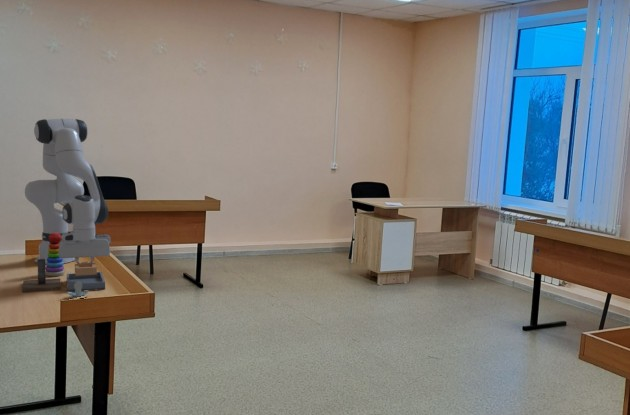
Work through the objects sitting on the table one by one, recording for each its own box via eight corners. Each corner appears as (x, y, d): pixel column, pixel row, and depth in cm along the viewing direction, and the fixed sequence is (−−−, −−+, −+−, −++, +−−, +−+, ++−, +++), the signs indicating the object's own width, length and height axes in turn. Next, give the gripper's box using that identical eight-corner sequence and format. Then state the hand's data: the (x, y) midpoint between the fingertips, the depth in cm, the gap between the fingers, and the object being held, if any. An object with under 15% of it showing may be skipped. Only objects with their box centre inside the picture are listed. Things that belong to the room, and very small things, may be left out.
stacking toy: (57, 277, 267) (56, 234, 264) (40, 276, 268) (39, 233, 266) (68, 273, 275) (67, 231, 272) (52, 271, 276) (51, 230, 274)
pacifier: (88, 299, 237) (88, 295, 243) (88, 284, 236) (88, 279, 242) (68, 301, 235) (68, 296, 240) (67, 285, 234) (67, 280, 239)
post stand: (23, 283, 256) (22, 256, 254) (60, 281, 261) (59, 255, 260) (22, 292, 243) (21, 264, 242) (60, 289, 249) (60, 262, 247)
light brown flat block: (74, 269, 260) (74, 262, 259) (94, 268, 263) (94, 261, 263) (75, 275, 249) (75, 268, 248) (96, 274, 252) (96, 267, 252)
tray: (66, 280, 262) (66, 273, 262) (101, 278, 268) (101, 271, 267) (67, 291, 246) (67, 284, 246) (105, 289, 251) (105, 282, 251)
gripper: (109, 232, 265) (110, 264, 266) (57, 234, 257) (58, 267, 258) (111, 235, 259) (111, 267, 261) (58, 237, 251) (58, 270, 253)
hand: (84, 267), depth 259 cm, fingers closed on light brown flat block, 2 cm apart
